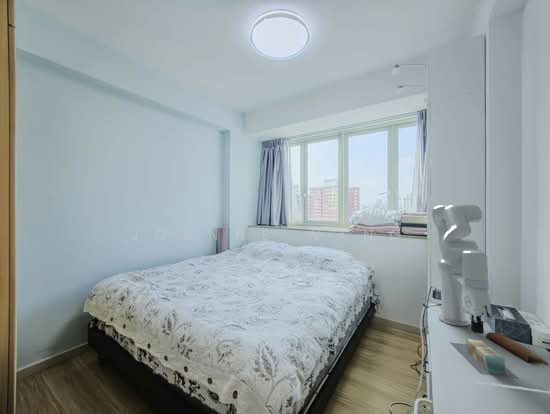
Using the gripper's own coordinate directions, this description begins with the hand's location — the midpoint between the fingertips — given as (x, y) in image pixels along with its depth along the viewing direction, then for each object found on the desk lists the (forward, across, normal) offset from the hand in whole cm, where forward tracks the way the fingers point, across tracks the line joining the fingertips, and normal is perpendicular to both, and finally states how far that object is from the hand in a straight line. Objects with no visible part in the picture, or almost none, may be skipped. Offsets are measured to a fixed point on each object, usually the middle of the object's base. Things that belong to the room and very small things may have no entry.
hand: (477, 332), depth 87 cm
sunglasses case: (+10, -9, +18) cm, 22 cm away
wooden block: (+6, -2, 0) cm, 7 cm away
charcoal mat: (+10, +1, 0) cm, 10 cm away
